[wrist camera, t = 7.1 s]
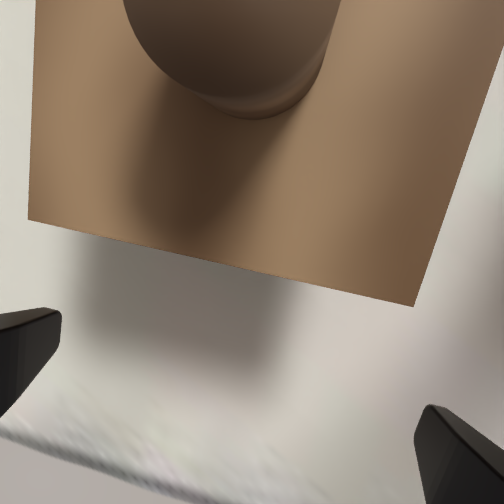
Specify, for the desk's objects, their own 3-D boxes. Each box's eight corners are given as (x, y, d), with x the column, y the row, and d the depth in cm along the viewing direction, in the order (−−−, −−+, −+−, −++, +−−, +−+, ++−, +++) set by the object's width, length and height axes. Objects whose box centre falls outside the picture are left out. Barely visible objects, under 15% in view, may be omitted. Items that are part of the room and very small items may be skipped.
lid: (568, -188, 9) (866, -564, 4) (405, 297, 12) (473, 380, 8) (66, -261, 10) (-144, -647, 5) (43, 215, 13) (-95, 246, 8)
